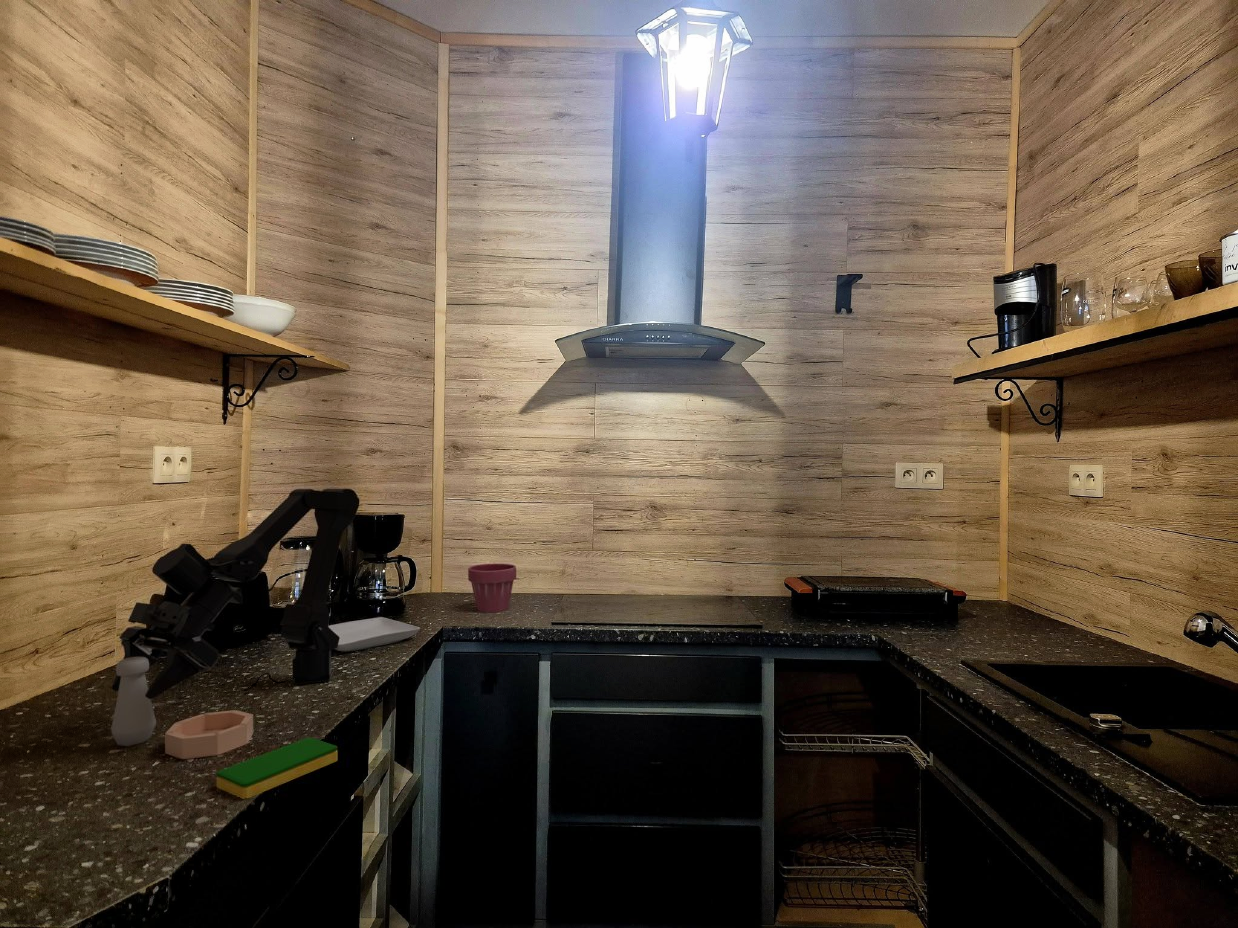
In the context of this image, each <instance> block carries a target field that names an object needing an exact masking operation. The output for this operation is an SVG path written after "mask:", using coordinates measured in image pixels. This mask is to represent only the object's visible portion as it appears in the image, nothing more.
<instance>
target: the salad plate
mask: <svg viewBox="0 0 1238 928" xmlns="http://www.w3.org/2000/svg"><path fill="white" fill-rule="evenodd" d="M328 627H329V628H330V629H331V630H332V631H333V632H334V633H336V634H337V635H338V636H339V638H340V639H339V643H338V647H337V648H335V649H334V650H336V651H338V652H345V653H347V652H348V653H349V652H355V651H360V650H361V651H362V650H364V649H365V650H366V649H369V648H375V647H379V646H385V645H389V644H393V643H398V642H401V641H403V640H405V639H408V638H410V637H412V636H414V635H416V634H417V633H418V632H419V631H420V630H421V628H420V627H419V626H416V625H412V624H410V623H409V624H408V623H405V622H403V621H398V620H393V619H391V618H386V617H383V616H380V617H373V618H367V619H365V618H364V619H360V620H353V621H345V622H342V623H341V622H340V623H336V624H330V625H328Z"/></svg>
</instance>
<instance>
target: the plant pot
mask: <svg viewBox="0 0 1238 928" xmlns="http://www.w3.org/2000/svg"><path fill="white" fill-rule="evenodd" d="M467 573H468V574H467V576H468V577H467V579H468V581H469V582H470V583H471V587H472V593H473V598H474V601H475V606H476V611H478V612H480V613H487V614H491V613H494V614H495V613H501V612H504V611H507V610H509V605H510V602H511V601H510V600H511V597H512V592H513V591H512V590H513V586H514V581H515V580H516V579H517V566H516V565H514V564H509V563H484V564H483V563H481V564H475V565H471V566H469V567H468V569H467Z"/></svg>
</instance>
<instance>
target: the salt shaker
mask: <svg viewBox="0 0 1238 928" xmlns="http://www.w3.org/2000/svg"><path fill="white" fill-rule="evenodd" d="M149 669H150V667H149V661H148V659H147V658H145V657H130V658H126V659H123V658H122V659H121V660H119V661H118V662H117V663H116V666H115V672H116V675H117V676H121V680H120V686H119V691H117V698H116V704H115V707H114V708H115V709H114V714H113V719H112V724H111V728H110V729H111V735H112V736H113V738H114V740H115V742H116V744H117V746H124V747H129V746H133V745H138V744H142V743H144V742H146V741H148V740H149V739H151V737H152V734H153V732H154V729H155V728H156V726H157V725H156V724H157V719H156V716H155V711H154V707H153V704H152V699H148V698H147V697H145V694H146V693H147V691H148V689H149V686H148V683H147V678H146V673H147V672H149Z"/></svg>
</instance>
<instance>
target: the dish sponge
mask: <svg viewBox="0 0 1238 928" xmlns="http://www.w3.org/2000/svg"><path fill="white" fill-rule="evenodd" d="M337 761H338V746H337V745H335V744H331V743H329V742H325V741H322V740H319V739H316V738H314V737H306V738H304V739H300V740H298V741H295V742H293V743H290V744H288V745H284V746H282V747H280V748H277V749H274V750H271V751H269V752H266V753H263V754H261V755H258V756H256V757H253V758H250V759H248V760H245V761H242V762H239V763H236V764H234V765H230V766H228V767H226V768H223V769H220V770H218V771H217V772H216V788H218V789H220V790H222V791H224V792H227V793H229V794H231V795H233V796H235V795H236V796H235V797H238V798H239V797H240V799H242V800H246V799H245V798H247V799H249V797H250V798H252V797H254V796H257V795H259V794H261V793H264V792H265V791H269V790H271V789H273V788H276V787H279V786H281V785H283V784H285V783H287V782H290V781H292V780H295V779H297V778H300V777H302V776H304V775H307V774H310V773H311V772H314V771H316V770H319V769H321V768H324V767H326V766H329V765H331V764H333V763H336V762H337Z"/></svg>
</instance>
